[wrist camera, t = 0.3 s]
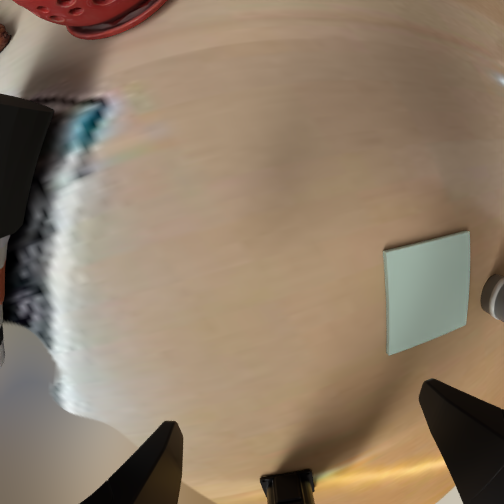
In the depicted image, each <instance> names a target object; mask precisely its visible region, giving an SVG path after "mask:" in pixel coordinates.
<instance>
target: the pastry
mask: <svg viewBox="0 0 504 504" xmlns="http://www.w3.org/2000/svg"><path fill="white" fill-rule="evenodd" d="M10 39H11V35H8V33H7V32H6V29H5V26H3V25H2V24H0V53H1V51H3V49H4V48H5V47H6V46H7V44H8V43H9V41H10Z"/></svg>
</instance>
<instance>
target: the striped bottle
mask: <svg viewBox="0 0 504 504" xmlns="http://www.w3.org/2000/svg"><path fill="white" fill-rule="evenodd" d="M53 114H54V110H53V109H51V108H49V107H47V106H44V105H41V104H39V103H36V102H32V101H29V100H25V99H22V98H18V97H14V96H9V95H4V94H0V367H1V366H2V364H3V363H4V358H5V351H4V344H3V327H2V323H3V304H2V301H4V297H5V263H6V255H7V243H8V240H9V237H10V235H11V234H13V233H15V232H16V231H17V230H18V229H19V228H20V227H21V226H22V225H23V221H24V216H25V210H26V205H27V200H28V196H29V191H30V187H31V183H32V179H33V175H34V171H35V167H36V164H37V160H38V157H39V154H40V150H41V147H42V144H43V141H44V138H45V135H46V132H47V130H48V127H49V124H50V121H51V119H52V116H53Z"/></svg>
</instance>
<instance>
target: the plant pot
mask: <svg viewBox="0 0 504 504" xmlns="http://www.w3.org/2000/svg"><path fill="white" fill-rule="evenodd" d="M13 1H14V2H16V3H17V4H18V5H20V6H23V7H25V8H26V9H28V10H29V11H31V12H32V13H33V14H35V15H36V16H38V17H40V18H42V19H44V20H47V21H50V22H53V23H56V24H61V25H66V27H67V29H68V31H69V32H70V33H71V34H72V35H73V36H75V37H77V38H80V39H86V40H95V39H101V38H106V37H110V36H113V35H116V34H119V33H121V32H124V31H126V30H128V29H130V28H132V27H134V26H136V25H138V24H140V23H141V22H143V21H144V20H146V19H147V18H148V17H150V16H151V15H152V14H153V13H155V12H156V11H157V10H158V9H159V8H160V7H161V6H162V5H163V4H164V3H165V2H166V1H167V0H13Z"/></svg>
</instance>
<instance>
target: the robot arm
mask: <svg viewBox="0 0 504 504" xmlns="http://www.w3.org/2000/svg"><path fill="white" fill-rule="evenodd" d="M419 402H420V405H421V408H422V410H423V413H424V416H425V418H426V421H427V424H428V427H429V429H430V432H431V434H432V436H433V438H434V440H435V442H436V444H437V446H438V448H439V450H440V452H441V454H442V456H443V459H444V461H445V463H446V465H447V467H448V469H449V471H450V474H451V476H452V478H453V480H454V483H455V485H456V487H457V490H458V492H459V494H460V497H461V499H462V501H463V504H504V409H502V410H501V408H499V407H496V406H494V405H492V404H489V403H487V402H485V401H483V400H480V399H478V398H476V397H474V396H471V395H469V394H467V393H465V392H462V391H460V390H458V389H456V388H454V387H451V386H449V385H447V384H445V383H443V382H441V381H438V380H436V379H429V380H426V381H424V383H423V385H422V388H421V391H420V394H419ZM182 461H183V435H182V433H181V430H180V428H179V426H178V424H177V422H176V421H164V422H163V423H162V424H161V425H160V426H159V427H158V429H157V430H156V431H155V432H154V433H153V434H152V435H151V436H150V437H149V438H148V439H147V440H146V441H145V442H144V443H143V444H142V445H141V446H140V447H139V449H138V450H137V451H136V452H135V453H134V454H133V455H132V456H131V457H130V458H129V459H128V460H127V461H126V462H125V463H124V464H123V465H122V466H121V467H120V468H119V469H118V470H117V471H116V472H115V473H114V474H113V475H112V476H111V477H110V478H109V479H108V481H106V482H105V483H104V484H103V485H102V486H101V487H100V488H98V489H97V490H96V491H95V492H94V493H93V494H92V495H90V496H89V497H88V498H87V499H85V500H84V501H82V502H81V503H80V504H177V503H178V497H179V491H180V484H181V478H182ZM260 483H261V485H262V488H263V490H264V493H265V495H266V497H267V502H268V504H315V503H314V498H313V492H314V483H313V476H312V470H310V469H308V470H303V471H298V472H293V473H287V474H281V475H275V476H268V477H262V478H260Z"/></svg>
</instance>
